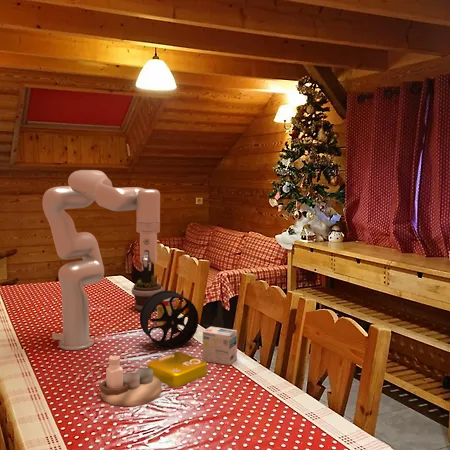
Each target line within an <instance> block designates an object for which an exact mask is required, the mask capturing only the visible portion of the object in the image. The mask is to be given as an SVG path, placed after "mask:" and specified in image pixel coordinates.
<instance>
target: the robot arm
mask: <svg viewBox="0 0 450 450" xmlns="http://www.w3.org/2000/svg"><path fill="white" fill-rule="evenodd" d="M67 184H68V185H64V186H63V185H60V186H53V187H51V188H49V189H47V190H46V191H45V192H44V194H43V197H42V208H43V212H44V215H45V217H46V220H47V221H48V223H49V226H50V230H51V235H52V238H53V241H54V243H53V244H54V247H55V250H56V253H57V256H58V257H59V258H60V259H61V260H73V259H78V258H82V260H78V261H71V262H67V263H66V264H63V265H62V266H61V267H60V268H59V270H58V274H57V275H58V281H59V285H60V287H59V288H60V291H61V307H62V309H61V310H62V311H61V312H62V332H61V333H56V332H54V333H52V335H51V338H52V340H53V341H58V342H59V343H58V347H59V348H60V349H62V350H67V351H77V350H78V351H79V350H84V349H87V348H89V347H92V346H93V345H94V340H95V339H93V338H92V337H90V311H89V310H90V304H89V303H90V302H89V297H88V294H87V292H86V290H85V289H84V287H85V286H90V285H94V284H97V283H100V282H101V281H102V280H103V279H104V277H105V266H104V264H103V263H104V261H103V259H102V255H101V251H100V250H101V249H100V248H99V243H98V240H97V239H96V237H95V236H94V234H92V233H90V232H87V231H83V232H82V231H81V232H78V231H77V229H76V226H75V223H74V220H73V219H72V217H71V215H70V214H68V212H66V211H65V210H68V209H84V208H87V207H89V206H90V205H91V204H92V203H94V202H96V204H97V205H98V206H99V207H101V208H104V209H107V210H110V211H113V212H125V211H135V210H136V217H135V218H136V228H135V229H136V233H138V234H139V258H140V259H139V260H140V261H139V262H140V263H141V270H140V271H141V272H140V273H141V275H140V280H141V282H142V283H151V281H152V276H154V275H155V274H154V273H155V264H156V263H157V261H158V233H160V230H161V193H160V191H159V190H158V189H154V188H143V187H135V186H134V187H132V186H131V187H130V186H129V187H115V186H114V187H113V183H112V180H111V179H110V178H108V176H107V174H105V172H103V171H101V170H97V169H90V170H89V169H80V170H75V171H73V172H72V173H71V174H69V177H68V180H67Z"/></svg>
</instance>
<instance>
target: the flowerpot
mask: <svg viewBox="0 0 450 450" xmlns="http://www.w3.org/2000/svg"><path fill="white" fill-rule="evenodd" d="M156 280H157V276H156V273H155V272H154V276H152V281H151V283H142V282H141V279H138V280H137V281H136V283H135V284H133V287H132V288H131V295H133V297H134V301H135V303H134V307H135V309H136V310H137V311H138V312H141V309H142V307H143V305H144V303H145V302H146V301H147V299H148V298H150V297H151V296H152V295H154V294H155V293H157V292H160V291H164V288H163V286H162V285H161V284H159V283H157V281H156ZM153 312H157V307H156V308H155V310H154V311H153Z"/></svg>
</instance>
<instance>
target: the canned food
mask: <svg viewBox="0 0 450 450" xmlns="http://www.w3.org/2000/svg"><path fill="white" fill-rule="evenodd" d="M170 299H171V298H168V299H166V300H163V301H162V302H161V303H164V304H165V306H166V309H167V312H168V315H169V316H171V313H172V310H171V307H170V303H169V300H170ZM172 306H173V308H174V309H176V310H177V298H174V299H173V300H172ZM156 313H157V314H156V315H157V316H156V318H161V317H162V315H163V314H164V309H163V307H162V304H159V305H158V306H157V310H156ZM156 323H157V325H156V326H160V325H164V324H166V322H165V321H160V322H156Z"/></svg>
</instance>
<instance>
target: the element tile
mask: <svg viewBox="0 0 450 450" xmlns="http://www.w3.org/2000/svg"><path fill="white" fill-rule="evenodd" d="M146 366H147V367H146V368H150V369H152V370H153V376H155V377H157V378H158V379H159V380H160V381H161V383H163V384H165V385H167V386H169V387H171V388H180V387H182V386H184V385H187V384H190V383H191V382H194V381H196V380H198V379H201V378H203V377H205V376H207V375H208V361H204V360H203V359H200V358H198V357H195V356H193V355H190V354H187V353H185V352H181V351H176V352H173V353H169V354H167V355H165V356H161V357H159V358H156V359H153V360H151V361H148V362H147V365H146Z"/></svg>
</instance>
